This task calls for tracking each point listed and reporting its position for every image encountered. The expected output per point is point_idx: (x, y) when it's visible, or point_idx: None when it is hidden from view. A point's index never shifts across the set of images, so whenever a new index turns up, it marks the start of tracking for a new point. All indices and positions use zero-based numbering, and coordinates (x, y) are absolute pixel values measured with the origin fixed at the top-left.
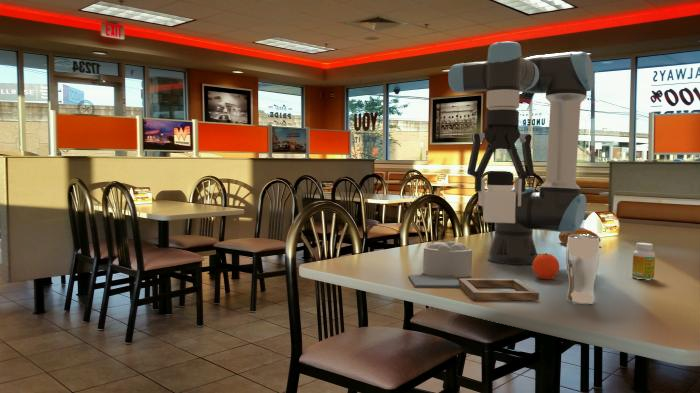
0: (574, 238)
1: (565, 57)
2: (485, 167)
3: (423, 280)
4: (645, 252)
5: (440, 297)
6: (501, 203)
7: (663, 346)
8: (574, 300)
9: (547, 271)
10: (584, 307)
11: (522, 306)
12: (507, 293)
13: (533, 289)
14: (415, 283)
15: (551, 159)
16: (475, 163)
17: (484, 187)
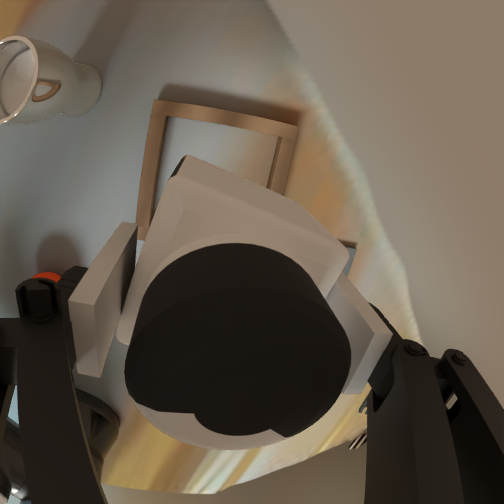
0: (37, 54)
1: None
2: (412, 394)
3: None
4: None
5: (346, 163)
6: (254, 195)
7: None
8: (96, 72)
9: (53, 274)
10: (97, 47)
11: (217, 63)
12: (225, 110)
13: (148, 131)
14: (350, 261)
15: None
16: (480, 405)
17: (351, 297)
